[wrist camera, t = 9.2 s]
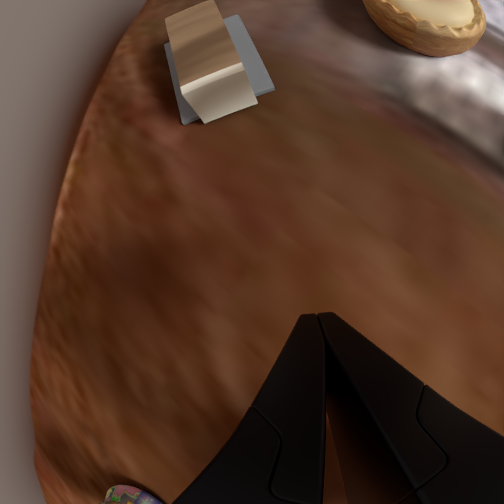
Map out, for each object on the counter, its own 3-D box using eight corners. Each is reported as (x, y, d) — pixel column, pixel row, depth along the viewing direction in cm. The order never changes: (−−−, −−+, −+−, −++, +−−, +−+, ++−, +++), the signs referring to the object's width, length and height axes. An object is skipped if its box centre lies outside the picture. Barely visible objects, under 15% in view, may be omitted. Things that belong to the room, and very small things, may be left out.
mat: (275, 90, 22) (274, 87, 22) (184, 125, 24) (182, 123, 23) (238, 16, 24) (237, 14, 24) (165, 46, 26) (163, 44, 25)
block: (244, 69, 18) (213, -2, 19) (182, 94, 19) (164, 18, 20) (258, 103, 22) (227, 30, 24) (204, 123, 23) (183, 47, 24)
